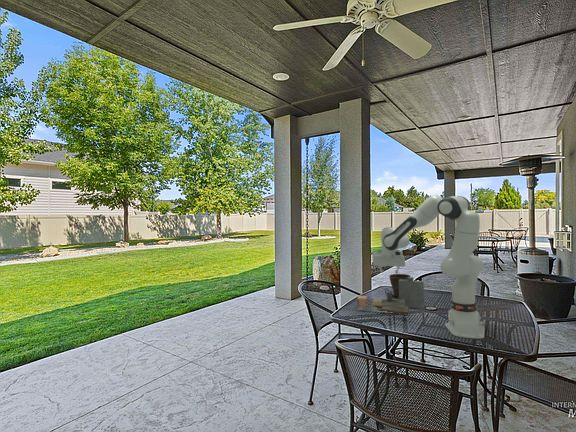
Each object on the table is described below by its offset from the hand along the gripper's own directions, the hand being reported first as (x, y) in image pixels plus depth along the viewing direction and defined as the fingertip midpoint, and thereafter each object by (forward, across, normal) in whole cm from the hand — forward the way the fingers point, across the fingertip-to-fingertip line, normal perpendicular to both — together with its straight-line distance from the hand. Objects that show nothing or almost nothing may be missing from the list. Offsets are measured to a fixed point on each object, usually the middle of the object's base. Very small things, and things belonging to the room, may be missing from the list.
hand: (389, 272), depth 204 cm
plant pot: (+25, +6, +33) cm, 42 cm away
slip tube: (+22, -3, -1) cm, 22 cm away
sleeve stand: (+24, -5, -1) cm, 25 cm away
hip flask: (+25, +13, +10) cm, 30 cm away
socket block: (+23, -18, -1) cm, 29 cm away
